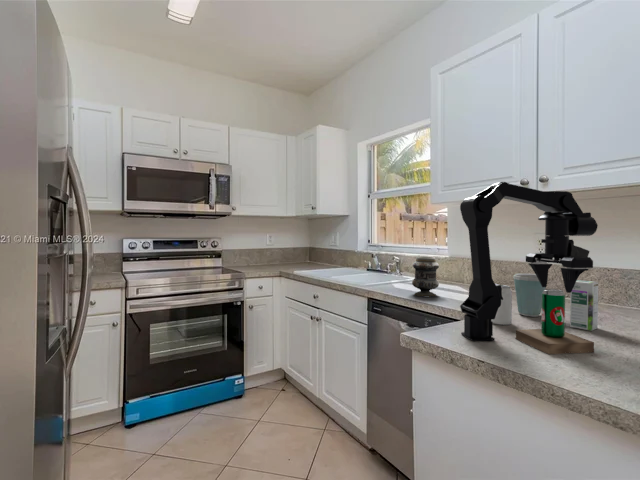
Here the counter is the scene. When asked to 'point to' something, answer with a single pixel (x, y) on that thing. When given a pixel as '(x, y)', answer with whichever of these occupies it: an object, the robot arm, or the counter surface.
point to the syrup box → (584, 305)
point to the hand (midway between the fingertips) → (555, 289)
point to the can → (504, 308)
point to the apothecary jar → (425, 275)
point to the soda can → (553, 313)
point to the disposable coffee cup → (528, 294)
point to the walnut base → (555, 342)
